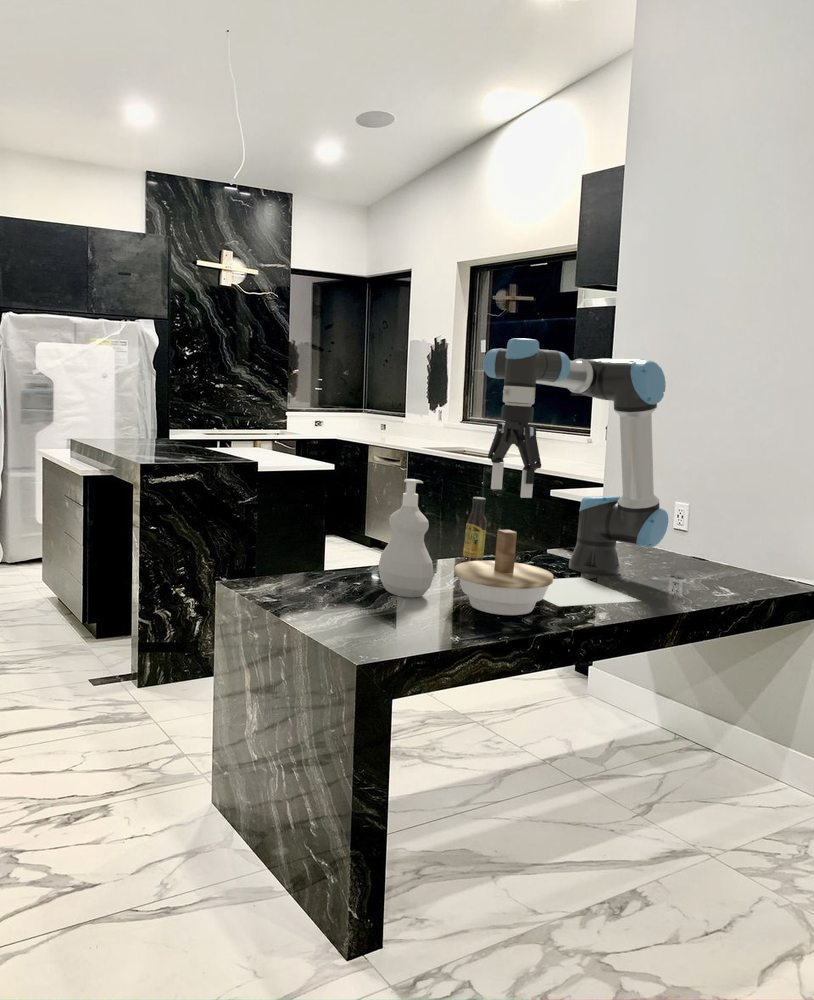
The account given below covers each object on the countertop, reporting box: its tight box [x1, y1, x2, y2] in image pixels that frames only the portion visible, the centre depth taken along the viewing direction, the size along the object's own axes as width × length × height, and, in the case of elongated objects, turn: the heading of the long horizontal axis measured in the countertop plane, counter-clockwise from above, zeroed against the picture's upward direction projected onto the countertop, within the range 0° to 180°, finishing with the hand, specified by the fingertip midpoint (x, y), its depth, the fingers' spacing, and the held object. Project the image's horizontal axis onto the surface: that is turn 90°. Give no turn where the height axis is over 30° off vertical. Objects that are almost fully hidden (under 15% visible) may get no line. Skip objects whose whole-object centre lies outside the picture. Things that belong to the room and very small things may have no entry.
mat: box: [542, 577, 641, 608], centre depth 232 cm, size 26×26×1 cm
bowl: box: [458, 577, 549, 616], centre depth 211 cm, size 22×22×8 cm
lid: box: [454, 529, 554, 589], centre depth 210 cm, size 24×24×11 cm
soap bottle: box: [378, 478, 435, 598], centre depth 218 cm, size 17×12×29 cm
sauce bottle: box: [462, 496, 488, 562], centre depth 263 cm, size 7×6×20 cm
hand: (510, 493), depth 208 cm, fingers open, 13 cm apart
